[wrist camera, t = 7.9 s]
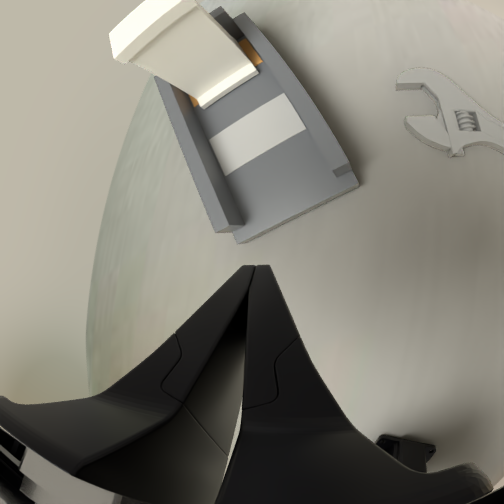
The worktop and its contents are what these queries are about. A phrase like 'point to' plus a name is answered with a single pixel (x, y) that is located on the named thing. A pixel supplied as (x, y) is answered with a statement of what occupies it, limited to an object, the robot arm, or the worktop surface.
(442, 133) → the adjustable wrench
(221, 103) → the switch housing
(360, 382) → the worktop surface
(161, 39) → the switch tab
